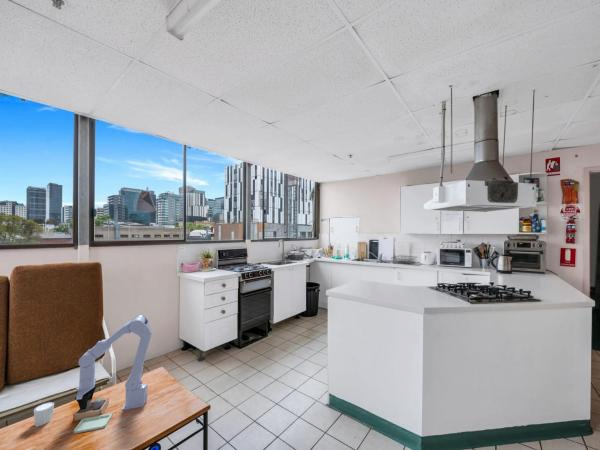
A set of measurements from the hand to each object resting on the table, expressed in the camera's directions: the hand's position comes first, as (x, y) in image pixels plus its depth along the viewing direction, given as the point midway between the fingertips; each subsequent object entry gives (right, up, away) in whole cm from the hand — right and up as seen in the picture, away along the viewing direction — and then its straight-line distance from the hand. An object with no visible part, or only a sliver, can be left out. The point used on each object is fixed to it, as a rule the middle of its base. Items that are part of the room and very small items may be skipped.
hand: (85, 405), depth 123 cm
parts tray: (+10, -4, -7) cm, 12 cm away
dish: (+2, -4, +1) cm, 5 cm away
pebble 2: (+5, -4, +1) cm, 6 cm away
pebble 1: (0, -3, 0) cm, 3 cm away
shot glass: (-15, -4, -6) cm, 17 cm away
